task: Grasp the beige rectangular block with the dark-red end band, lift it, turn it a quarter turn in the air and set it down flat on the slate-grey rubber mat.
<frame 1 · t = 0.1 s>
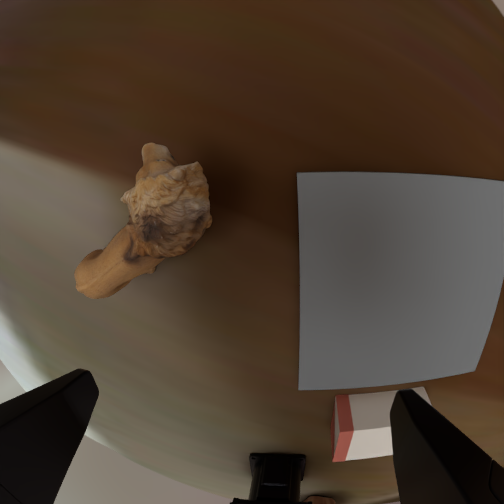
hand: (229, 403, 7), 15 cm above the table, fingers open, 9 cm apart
mat: (413, 292, 21), on the table
cupcake: (317, 499, 33), on the table
beige rectangular block: (376, 408, 25), on the table
lion figurine: (160, 223, 22), on the table
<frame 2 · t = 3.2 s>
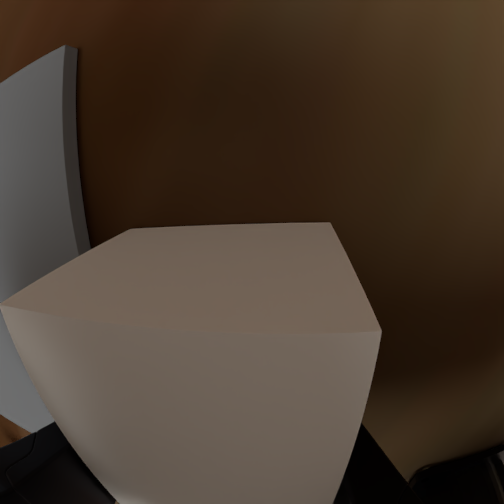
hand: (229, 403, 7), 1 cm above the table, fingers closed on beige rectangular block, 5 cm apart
beige rectangular block: (237, 374, 8), on the table, touching gripper
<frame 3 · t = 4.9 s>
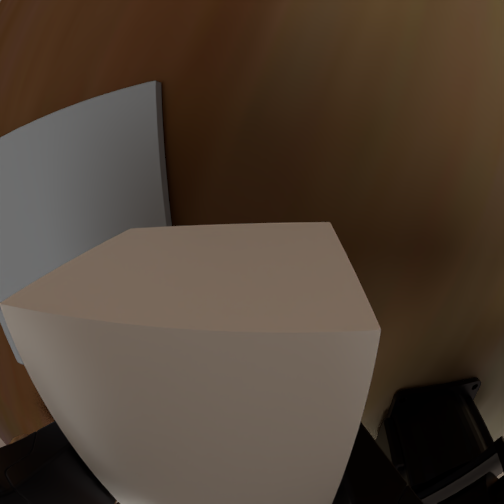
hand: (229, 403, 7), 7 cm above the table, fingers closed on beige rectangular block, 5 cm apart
mat: (51, 268, 16), on the table
beige rectangular block: (237, 374, 8), point 6 cm above the table, touching gripper
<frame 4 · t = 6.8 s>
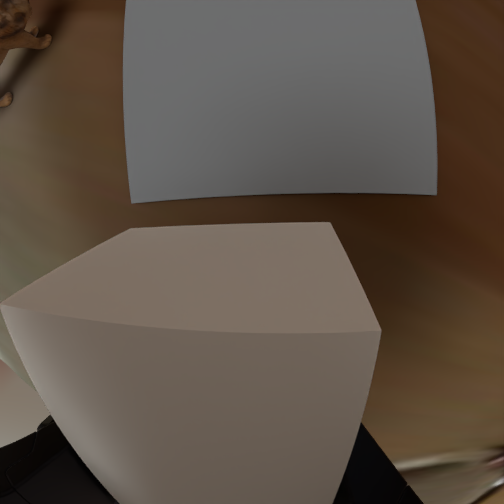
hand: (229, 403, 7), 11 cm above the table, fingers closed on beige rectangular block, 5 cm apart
mat: (271, 39, 14), on the table
beige rectangular block: (236, 374, 8), point 10 cm above the table, touching gripper
lion figurine: (22, 60, 15), on the table
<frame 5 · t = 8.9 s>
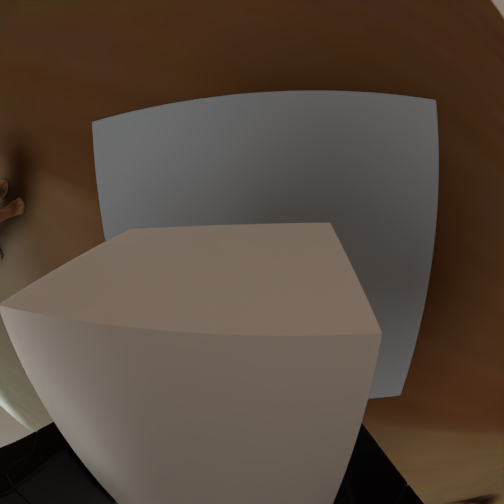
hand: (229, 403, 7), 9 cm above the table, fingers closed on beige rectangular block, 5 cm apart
mat: (264, 271, 16), on the table
beige rectangular block: (236, 375, 8), point 8 cm above the table, touching gripper
lion figurine: (0, 213, 18), on the table
when the fingers open (3 cm above the table, at t = 10.6 s): beige rectangular block drops 1 cm, resting on mat.
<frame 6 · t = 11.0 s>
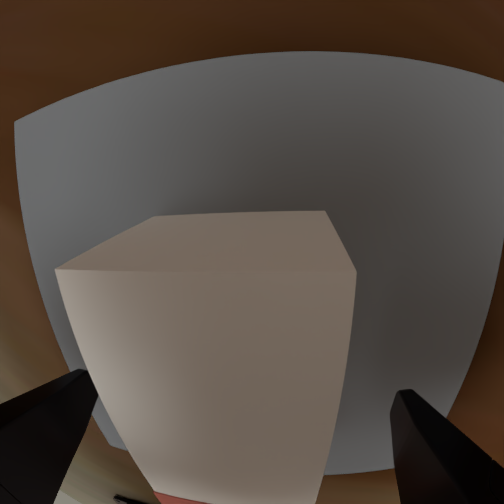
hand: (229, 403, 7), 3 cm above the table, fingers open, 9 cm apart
mat: (247, 335, 10), on the table
beige rectangular block: (244, 346, 10), point 1 cm above the table, touching mat
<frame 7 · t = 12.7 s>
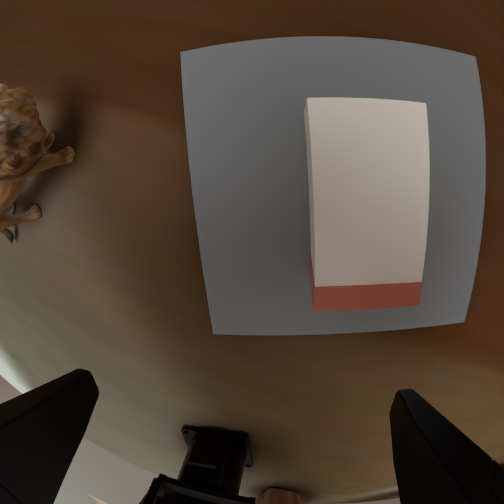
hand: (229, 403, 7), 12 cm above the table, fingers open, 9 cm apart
mat: (352, 191, 16), on the table
cupcake: (280, 492, 29), on the table
beige rectangular block: (354, 193, 16), point 1 cm above the table, touching mat
lion figurine: (42, 168, 19), on the table
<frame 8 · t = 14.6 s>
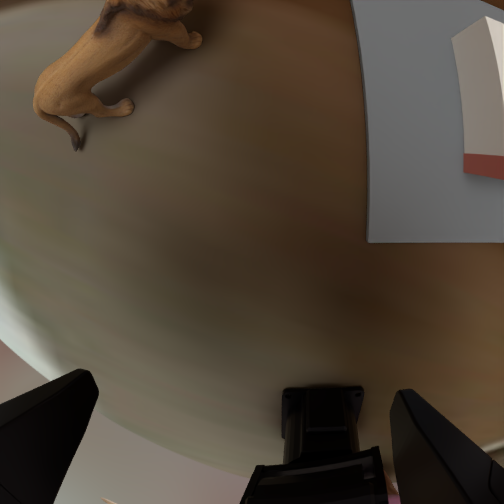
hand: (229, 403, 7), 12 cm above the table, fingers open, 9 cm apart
mat: (485, 109, 13), on the table
cupcake: (361, 471, 25), on the table
beige rectangular block: (490, 108, 13), point 1 cm above the table, touching mat
lion figurine: (144, 58, 16), on the table
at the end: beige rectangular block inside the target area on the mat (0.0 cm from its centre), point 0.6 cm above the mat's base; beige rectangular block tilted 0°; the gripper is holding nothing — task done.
